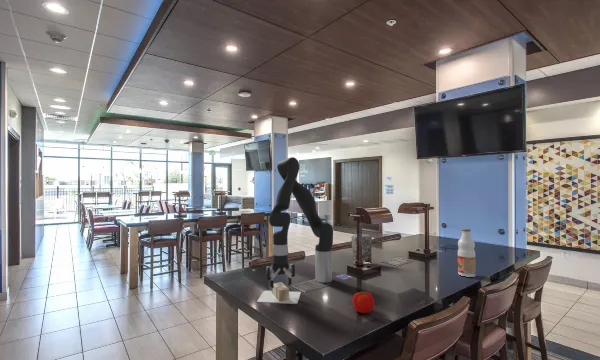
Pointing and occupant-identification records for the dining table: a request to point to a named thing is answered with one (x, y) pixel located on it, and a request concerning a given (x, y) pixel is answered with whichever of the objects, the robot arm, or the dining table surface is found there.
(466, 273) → the fruit juice
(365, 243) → the stone block
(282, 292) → the beige tall box
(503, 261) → the dining table surface
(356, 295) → the tomato
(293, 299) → the grey mat
